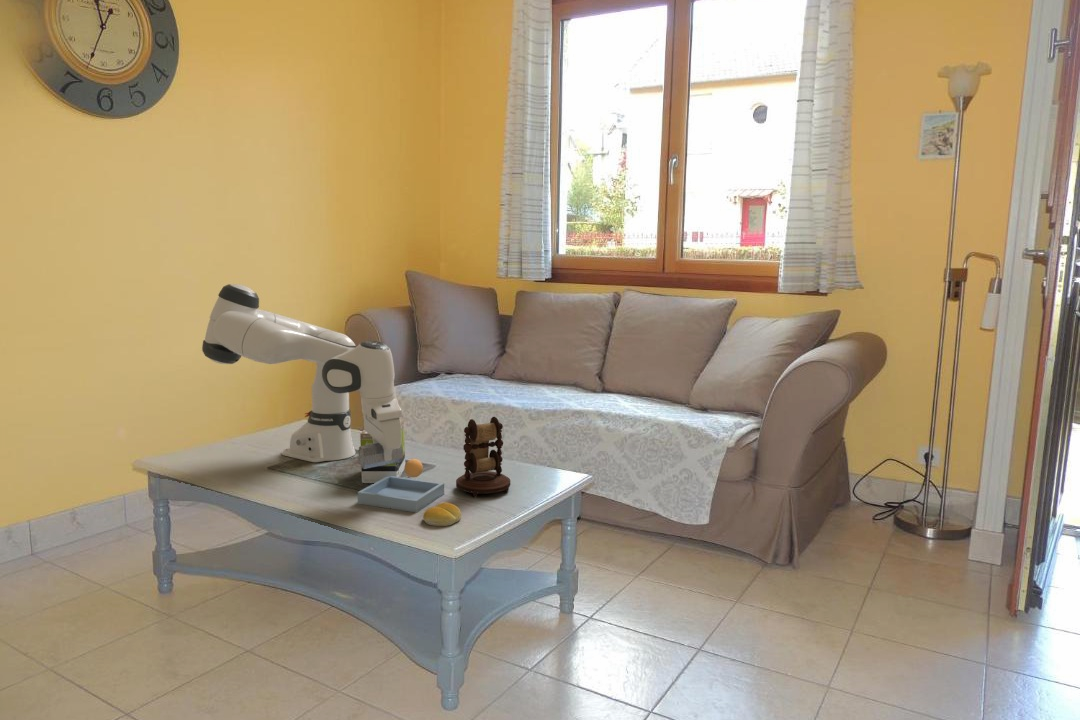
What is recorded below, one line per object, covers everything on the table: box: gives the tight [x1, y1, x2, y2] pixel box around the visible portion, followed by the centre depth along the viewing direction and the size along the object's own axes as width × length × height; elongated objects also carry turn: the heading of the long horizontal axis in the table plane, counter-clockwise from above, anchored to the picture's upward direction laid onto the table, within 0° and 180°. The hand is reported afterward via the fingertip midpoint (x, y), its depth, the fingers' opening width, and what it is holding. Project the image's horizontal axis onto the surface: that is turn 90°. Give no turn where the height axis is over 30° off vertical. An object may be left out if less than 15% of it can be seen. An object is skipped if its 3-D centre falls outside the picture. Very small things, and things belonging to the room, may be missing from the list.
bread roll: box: [422, 502, 462, 527], centre depth 185 cm, size 8×9×4 cm
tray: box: [357, 476, 445, 513], centre depth 200 cm, size 17×15×3 cm
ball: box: [404, 458, 424, 478], centre depth 201 cm, size 5×5×5 cm
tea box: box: [359, 420, 406, 484], centre depth 218 cm, size 15×10×15 cm, turn 1°
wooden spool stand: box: [455, 416, 511, 498], centre depth 207 cm, size 15×15×20 cm
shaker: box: [358, 443, 403, 469], centre depth 197 cm, size 5×5×10 cm
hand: (383, 456), depth 197 cm, fingers closed on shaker, 5 cm apart
